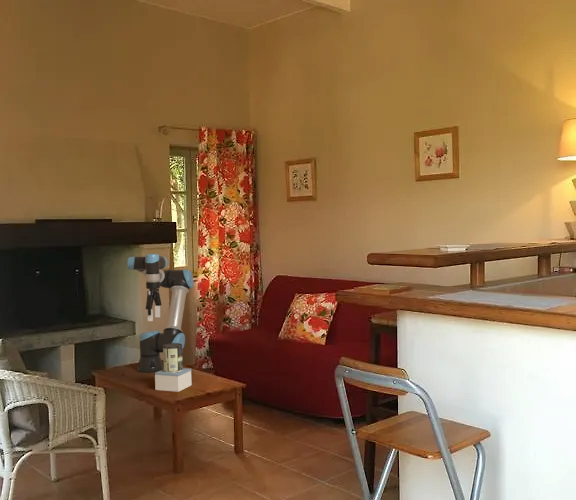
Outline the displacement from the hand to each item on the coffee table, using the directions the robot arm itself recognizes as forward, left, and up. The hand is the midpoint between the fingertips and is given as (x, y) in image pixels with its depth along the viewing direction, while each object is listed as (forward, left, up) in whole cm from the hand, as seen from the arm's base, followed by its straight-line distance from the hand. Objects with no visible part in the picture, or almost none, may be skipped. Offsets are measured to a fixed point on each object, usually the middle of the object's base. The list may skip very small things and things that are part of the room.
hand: (154, 319), depth 364 cm
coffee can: (+11, +18, -26) cm, 33 cm away
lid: (+11, +18, -27) cm, 34 cm away
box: (+11, +18, -35) cm, 41 cm away
